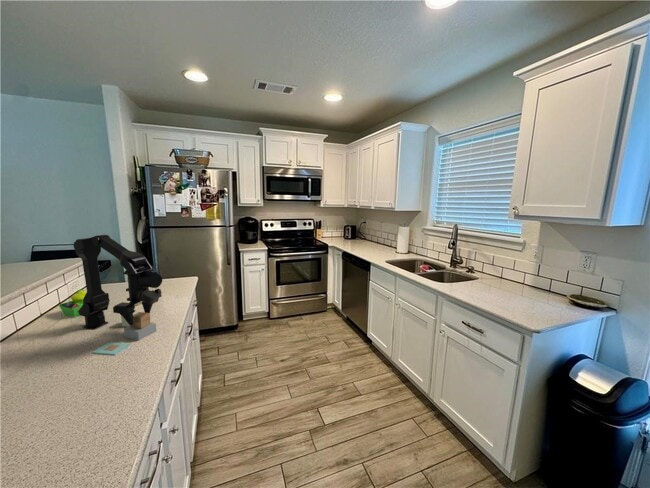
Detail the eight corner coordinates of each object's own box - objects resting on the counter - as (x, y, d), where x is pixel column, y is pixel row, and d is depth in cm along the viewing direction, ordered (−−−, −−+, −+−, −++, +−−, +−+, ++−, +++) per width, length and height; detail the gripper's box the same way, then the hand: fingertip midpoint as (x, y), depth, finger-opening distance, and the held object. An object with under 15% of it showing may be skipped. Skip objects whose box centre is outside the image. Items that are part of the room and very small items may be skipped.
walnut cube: (130, 328, 111) (129, 316, 110) (139, 322, 116) (138, 312, 115) (141, 329, 110) (140, 317, 109) (150, 323, 115) (149, 312, 114)
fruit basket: (58, 314, 129) (55, 292, 127) (81, 308, 137) (78, 287, 135) (72, 319, 125) (69, 296, 123) (94, 312, 133) (92, 290, 131)
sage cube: (122, 326, 120) (121, 315, 119) (131, 321, 125) (130, 311, 124) (132, 326, 119) (131, 316, 119) (141, 322, 124) (140, 311, 124)
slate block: (124, 337, 111) (123, 328, 110) (142, 329, 118) (142, 320, 118) (139, 341, 109) (138, 332, 108) (156, 332, 116) (155, 323, 115)
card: (92, 353, 99) (92, 351, 99) (109, 343, 106) (109, 341, 105) (115, 355, 98) (114, 353, 98) (130, 345, 105) (130, 343, 105)
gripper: (137, 294, 100) (140, 332, 103) (170, 279, 118) (172, 312, 121) (110, 292, 101) (113, 330, 103) (146, 278, 119) (149, 311, 122)
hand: (139, 320), depth 112 cm, fingers open, 9 cm apart
